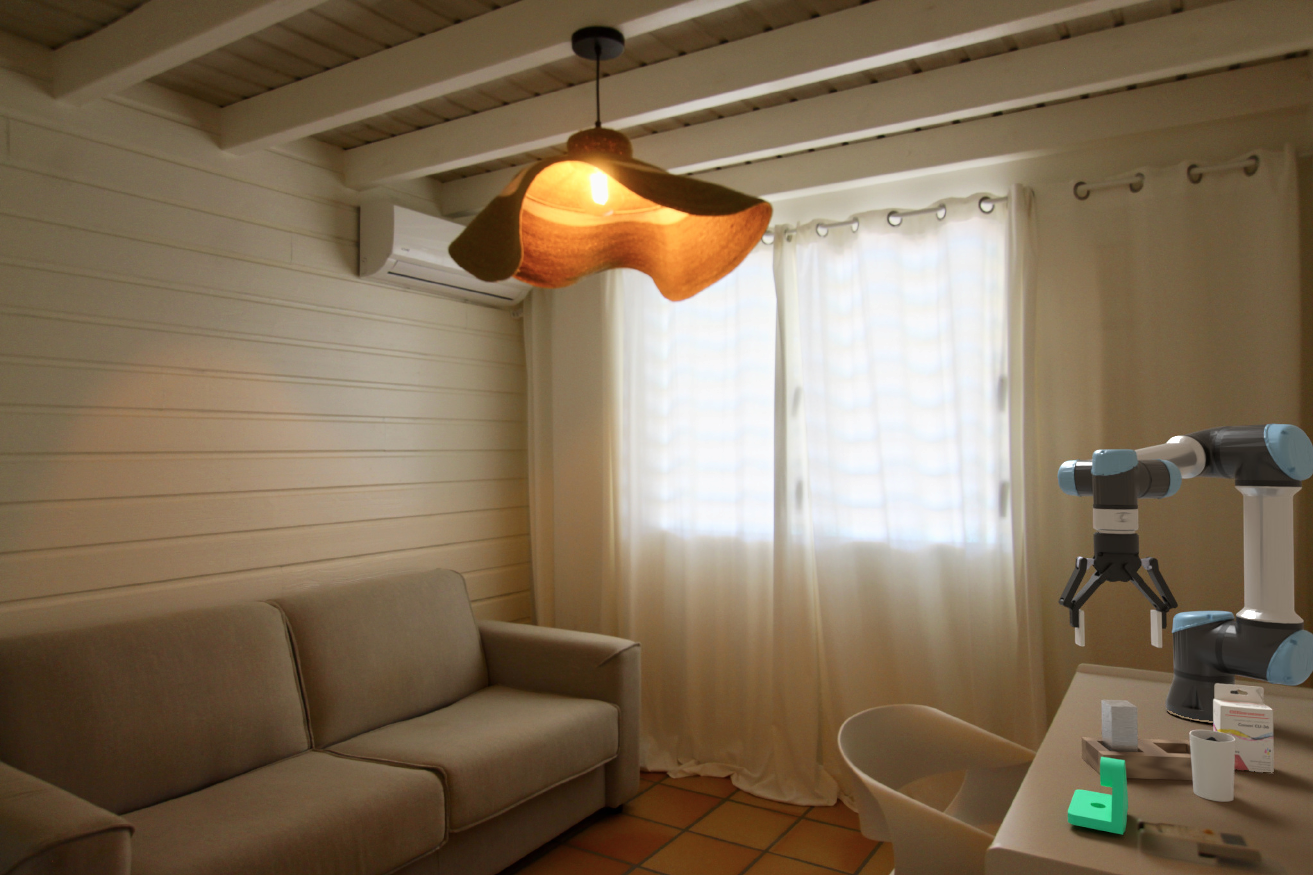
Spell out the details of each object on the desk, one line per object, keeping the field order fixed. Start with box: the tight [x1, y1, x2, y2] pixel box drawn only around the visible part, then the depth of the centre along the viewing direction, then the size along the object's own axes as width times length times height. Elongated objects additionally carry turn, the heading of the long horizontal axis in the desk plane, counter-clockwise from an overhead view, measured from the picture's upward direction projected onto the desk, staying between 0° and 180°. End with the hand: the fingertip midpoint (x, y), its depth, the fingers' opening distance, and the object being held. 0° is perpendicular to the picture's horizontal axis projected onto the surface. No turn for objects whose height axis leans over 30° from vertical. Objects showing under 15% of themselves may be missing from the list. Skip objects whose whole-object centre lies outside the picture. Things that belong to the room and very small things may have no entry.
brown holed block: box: [1081, 736, 1193, 781], centre depth 159 cm, size 20×10×4 cm, turn 84°
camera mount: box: [1067, 757, 1129, 835], centre depth 136 cm, size 12×8×10 cm, turn 148°
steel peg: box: [1100, 699, 1139, 752], centre depth 159 cm, size 4×4×12 cm
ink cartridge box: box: [1212, 683, 1275, 774], centre depth 160 cm, size 9×5×15 cm, turn 71°
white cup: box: [1188, 729, 1235, 803], centre depth 146 cm, size 7×7×10 cm
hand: (1118, 645), depth 160 cm, fingers open, 13 cm apart
